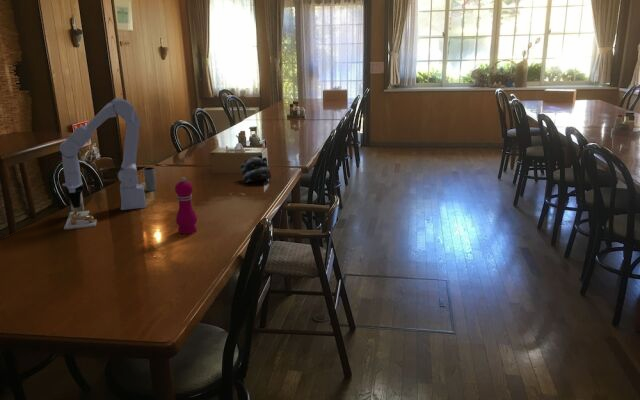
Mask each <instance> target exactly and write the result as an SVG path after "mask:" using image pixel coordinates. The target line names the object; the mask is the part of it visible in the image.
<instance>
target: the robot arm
mask: <svg viewBox="0 0 640 400" xmlns="http://www.w3.org/2000/svg"><path fill="white" fill-rule="evenodd" d="M117 115H118V116H120V117H121V119H123V121H125V123H126V127H125V137H124V146H123V147H124V148H123V155H122V162H121V165H120V169H119V171H118V172H117V178H118V180H119V182H120V184H119V191H120V192H119V193H120V199H121V205H120V210H121V211H125V210H134V209H135V210H137V209H145V208H146V203H147V198H146V197H145V195H146V194H145V189H144V188H145V187H144V184H139V176H138V174H137V173H138V172H137V170H138V169H137V163H136V162H137V157H138V144H139V138H140V137H139V135H140V126H141V119H140V117H139V114H138V113H137V111H136V109H135V107H134V105H133V104H132V103H131V102H130V101H128V100H127V99H123V98H122V97H115V98H113V99H112V100H111V101H110V102H108V103H107V104H106V105H104V106H103V107H102V109H100V111H98V113H97V114H96V115H94V117H93V118H92V119H91V120H90V121H88V123H87V124H86V125H80V126H79V127H78V126H77V127H75V129H74V130H75V131H74V132H73V133H72V134H71V135H69V137H68V136H67V137H66V138H65V140H64V141H62V142H61V143H60V144H59V149H58V150H59V152H60V153H61V159H62V168H63V175H64V180H65V182H64V183H62V184H61V185H62V187H66V188H67V190H65V194H66V195H67V197H68V198H69V201H70V200H71V203H72V205H73V207H74V208H79V207H80V195H81V192H82V193H83V190H84V187H85V186H84V182H83V181H82V173H81V167H80V160H79V158H78V157H79V156H78V153H79V149H82V148H83V147H84V146H85V145H86V144H87V143H88V142H89V141H90V140H92V138H93V136H94V133H93V132H94V131H95V130H96V129H98V128H99V127H100V126H101V125H102V124H103V123H104V122H105V121H107V120H108V119H110V118H116V117H117Z"/></svg>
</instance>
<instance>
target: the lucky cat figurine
mask: <svg viewBox="0 0 640 400" xmlns="http://www.w3.org/2000/svg"><path fill="white" fill-rule="evenodd" d="M268 165H269V164H268V158H267V157H265V156H264V157H263V156H262V155H260V154H259V155H258V156H254V157H251V158H247V159H245V161H244V163H242V164H241V165H240V169H241V174H242V182H243V183H244V182H245V183H247V184H248V182H249V183H252V182H258V181H257V180H259V181H265V180H264V179H268V180H269V179H271V178H272V172H271V170H270V169H269V166H268ZM245 183H244V184H245Z"/></svg>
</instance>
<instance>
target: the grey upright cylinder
mask: <svg viewBox="0 0 640 400" xmlns="http://www.w3.org/2000/svg"><path fill="white" fill-rule="evenodd" d="M143 173H144V183H145V190H146V192H155V191H157V182H156V173H155V167H152V166H151V167H149V166H148V167H144V168H143Z"/></svg>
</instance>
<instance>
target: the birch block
mask: <svg viewBox="0 0 640 400" xmlns="http://www.w3.org/2000/svg"><path fill="white" fill-rule="evenodd" d="M69 203H70V209H71V212H83V211H85V205H84V198H83V191H82V192H81V195H80V207H79V208H74V207H73V205H72V203H71V200H70V199H69Z"/></svg>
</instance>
